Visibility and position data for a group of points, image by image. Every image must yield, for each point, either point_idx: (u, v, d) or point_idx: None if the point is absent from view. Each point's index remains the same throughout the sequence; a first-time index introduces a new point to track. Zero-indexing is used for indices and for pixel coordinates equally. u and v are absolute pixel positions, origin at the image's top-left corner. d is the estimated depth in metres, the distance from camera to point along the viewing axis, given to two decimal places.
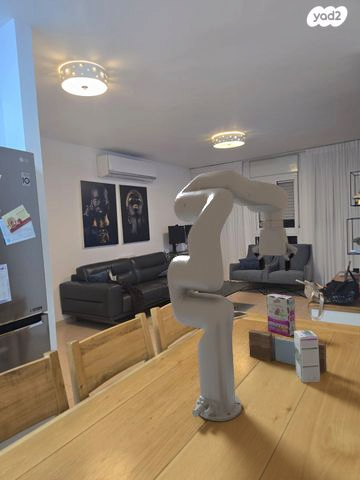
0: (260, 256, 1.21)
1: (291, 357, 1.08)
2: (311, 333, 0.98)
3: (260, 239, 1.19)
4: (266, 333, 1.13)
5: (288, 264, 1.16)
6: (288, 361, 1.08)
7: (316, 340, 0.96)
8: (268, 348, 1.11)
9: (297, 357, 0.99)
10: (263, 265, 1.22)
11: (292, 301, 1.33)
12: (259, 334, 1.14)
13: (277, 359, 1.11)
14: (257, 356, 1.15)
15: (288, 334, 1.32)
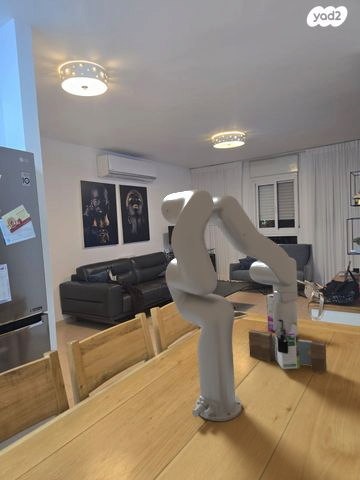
0: None
1: None
2: None
3: None
4: (266, 333, 1.13)
5: None
6: None
7: None
8: (268, 348, 1.11)
9: None
10: None
11: None
12: (259, 334, 1.14)
13: (277, 359, 1.11)
14: (257, 356, 1.15)
15: None
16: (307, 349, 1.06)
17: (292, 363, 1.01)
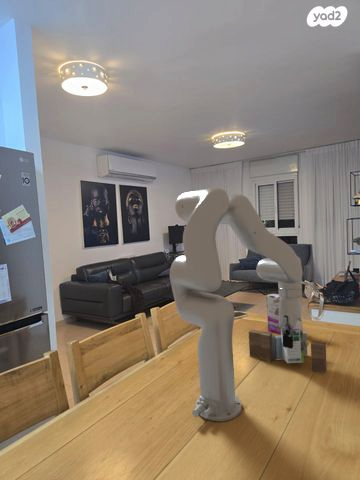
0: None
1: None
2: None
3: None
4: (266, 333, 1.13)
5: None
6: None
7: None
8: (268, 348, 1.11)
9: None
10: None
11: None
12: (259, 334, 1.14)
13: (278, 358, 1.12)
14: (257, 356, 1.15)
15: None
16: (303, 340, 1.13)
17: (296, 357, 1.05)
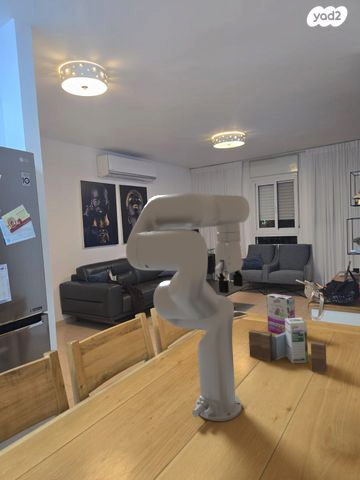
0: None
1: None
2: (295, 321, 1.09)
3: None
4: (266, 333, 1.13)
5: None
6: (285, 353, 1.14)
7: (289, 326, 1.09)
8: (268, 348, 1.11)
9: None
10: (237, 282, 1.07)
11: (292, 301, 1.33)
12: (259, 334, 1.14)
13: (278, 357, 1.12)
14: (257, 356, 1.15)
15: None
16: None
17: (301, 357, 1.09)
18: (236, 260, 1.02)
